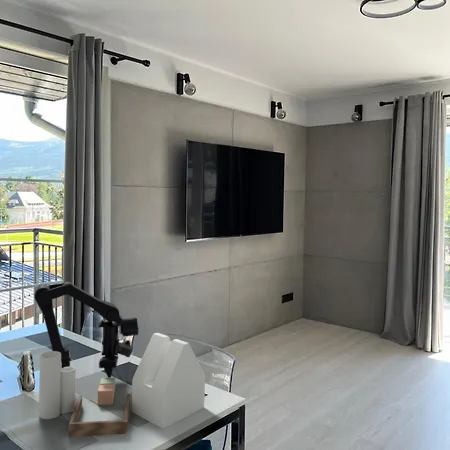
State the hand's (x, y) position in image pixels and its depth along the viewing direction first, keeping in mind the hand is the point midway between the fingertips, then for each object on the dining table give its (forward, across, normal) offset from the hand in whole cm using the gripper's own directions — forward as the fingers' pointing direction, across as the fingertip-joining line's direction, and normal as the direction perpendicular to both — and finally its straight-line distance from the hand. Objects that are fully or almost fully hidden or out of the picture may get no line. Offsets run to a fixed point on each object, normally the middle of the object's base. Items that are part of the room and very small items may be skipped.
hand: (109, 377), depth 170 cm
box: (+3, -27, 0) cm, 27 cm away
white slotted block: (+3, -23, -22) cm, 31 cm away
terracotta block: (+3, -15, 0) cm, 15 cm away
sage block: (+3, -9, 0) cm, 9 cm away
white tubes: (+3, -21, +15) cm, 26 cm away
